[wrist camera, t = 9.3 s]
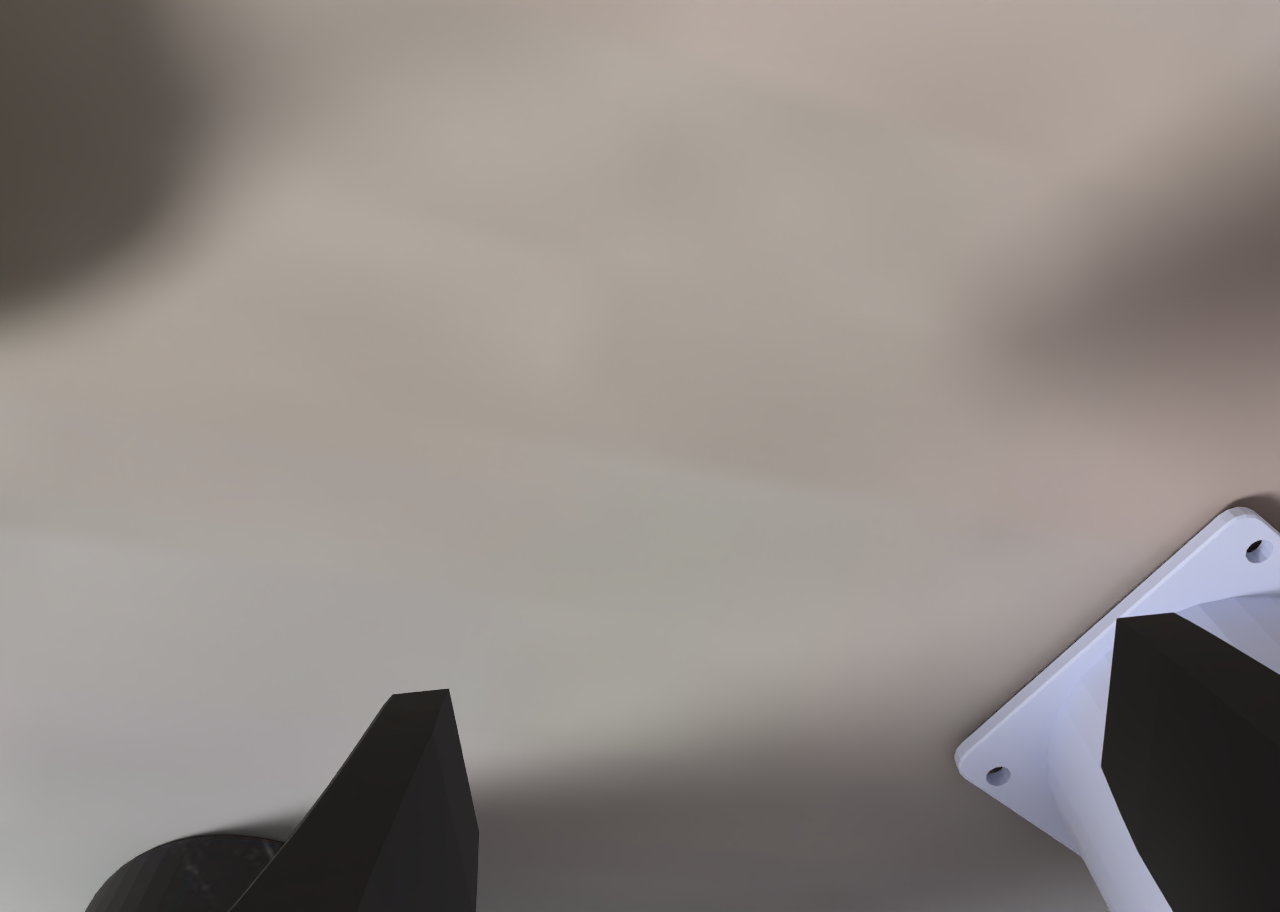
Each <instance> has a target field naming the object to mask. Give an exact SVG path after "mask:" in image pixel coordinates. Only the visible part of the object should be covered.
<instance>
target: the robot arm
mask: <svg viewBox="0 0 1280 912" xmlns="http://www.w3.org/2000/svg"><path fill="white" fill-rule="evenodd" d="M1258 540H1262V542H1261V544H1260V545H1259V547H1258V548H1257V549H1255V550H1254V551H1252V552H1248V553H1246V551H1247V549H1248V548H1249V546H1250V545H1251V544H1252V543H1254V542H1256V541H1258ZM954 758H955V763H956V765H957V768H958V770H959V772H960V774H961V775H962V776H963V777H964V778H965V779H966V780H968V781H969V782H971V783H972V784H974V785H975V786H977V787H978V788H980V789H981V790H983V791H984V792H986V793H987V794H989V795H990V796H992V797H993V798H995V799H996V800H998V801H999V802H1001V803H1002V804H1004V805H1005V806H1006V807H1008V808H1009V809H1011V810H1012V811H1014V812H1015V813H1017V814H1018V815H1020V816H1021V817H1023V818H1024V819H1026V820H1027V821H1029V822H1030V823H1032V824H1033V825H1035V826H1036V827H1038V828H1039V829H1041V830H1042V831H1044V832H1045V833H1047V834H1048V835H1050V836H1051V837H1053V838H1054V839H1056V840H1057V841H1059V842H1060V843H1062V844H1063V845H1065V846H1066V847H1068V848H1069V849H1071V850H1072V851H1074V852H1075V853H1077V854H1078V855H1080V856H1081V857H1082V858H1083V860H1084V862H1085V864H1086V866H1087V868H1088V870H1089V872H1090V874H1091V876H1092V877H1093V879H1094V881H1095V883H1096V885H1097V887H1098V889H1099V891H1100V893H1101V895H1102V897H1103V899H1104V900H1105V902H1106V904H1107V906H1108V908H1109V910H1110V912H1280V533H1279V532H1278V531H1277V530H1276V529H1274V528H1273V527H1272V526H1271V525H1270V524H1269V523H1268V522H1266V521H1265V520H1264V519H1263V518H1262V517H1261V516H1259V515H1258V514H1257V513H1256V512H1255V511H1253V510H1251V509H1249V508H1247V507H1235V508H1231V509H1228V510H1226V511H1225V512H1223V513H1221V514H1220V515H1218V516H1217V517H1216V518H1215V519H1214V520H1213V521H1212V522H1210V523H1209V524H1208V525H1207V526H1206V527H1205V528H1204V529H1203V530H1201V531H1200V532H1199V533H1198V534H1197V535H1196V536H1195V537H1194V538H1192V539H1191V540H1190V541H1189V542H1188V543H1187V544H1186V545H1185V546H1183V547H1182V548H1181V549H1180V550H1179V551H1178V552H1177V553H1175V554H1174V555H1173V556H1172V557H1171V558H1170V559H1169V560H1168V561H1166V562H1165V563H1164V564H1163V565H1162V566H1161V567H1160V568H1159V569H1157V570H1156V571H1155V572H1154V573H1153V574H1152V575H1151V576H1150V577H1148V578H1147V579H1146V580H1145V581H1144V582H1143V583H1142V584H1141V585H1139V586H1138V587H1137V588H1136V589H1135V590H1134V591H1133V592H1131V593H1130V594H1129V595H1128V596H1127V597H1126V598H1125V599H1124V600H1122V601H1121V602H1120V603H1119V604H1118V605H1117V606H1116V607H1115V608H1113V609H1112V610H1111V611H1110V612H1109V613H1108V614H1107V615H1106V616H1104V617H1103V618H1102V619H1101V620H1100V621H1099V622H1098V623H1097V624H1095V625H1094V626H1093V627H1092V628H1091V629H1090V630H1089V631H1088V632H1086V633H1085V634H1084V635H1083V636H1082V637H1081V638H1080V639H1078V640H1077V641H1076V642H1075V643H1074V644H1073V645H1072V646H1071V647H1069V648H1068V649H1067V650H1066V651H1065V652H1064V653H1063V654H1062V655H1060V656H1059V657H1058V658H1057V659H1056V660H1055V661H1054V662H1053V663H1051V664H1050V665H1049V666H1048V667H1047V668H1046V669H1045V670H1044V671H1042V672H1041V673H1040V674H1039V675H1038V676H1037V677H1036V678H1034V679H1033V680H1032V681H1031V682H1030V683H1029V684H1028V685H1027V686H1025V687H1024V688H1023V689H1022V690H1021V691H1020V692H1019V693H1018V694H1016V695H1015V696H1014V697H1013V698H1012V699H1011V700H1010V701H1009V702H1007V703H1006V704H1005V705H1004V706H1003V707H1002V708H1001V709H1000V710H998V711H997V712H996V713H995V714H994V715H993V716H992V717H991V718H989V719H988V720H987V721H986V722H985V723H984V724H983V725H981V726H980V727H979V728H978V729H977V730H976V731H975V732H974V733H972V734H971V735H970V736H969V737H968V738H967V739H966V740H965V741H963V742H962V743H961V744H960V746H959V747H958V748H957V749H956V752H955V756H954ZM995 767H1002V769H1001V770H999V771H997V772H996V773H988V772H989V771H990V770H992V769H994V768H995ZM478 844H479V830H478V825H477V821H476V816H475V811H474V806H473V802H472V797H471V792H470V787H469V783H468V778H467V773H466V768H465V763H464V759H463V754H462V749H461V744H460V740H459V735H458V730H457V725H456V721H455V716H454V711H453V706H452V701H451V697H450V692H449V689H441V690H431V691H422V692H412V693H403V694H393V695H392V696H391V697H390V698H389V699H388V701H387V702H386V703H385V704H384V705H383V707H382V708H381V710H380V711H379V713H378V714H377V715H376V717H375V718H374V720H373V721H372V723H371V724H370V726H369V727H368V729H367V730H366V732H365V733H364V735H363V736H362V738H361V739H360V741H359V742H358V743H357V745H356V746H355V748H354V749H353V751H352V752H351V754H350V755H349V757H348V758H347V759H346V761H345V762H344V764H343V765H342V767H341V768H340V769H339V771H338V772H337V774H336V775H335V776H334V778H333V779H332V781H331V782H330V784H329V785H328V786H327V788H326V789H325V790H324V792H323V793H322V794H321V796H320V797H319V798H318V800H317V801H316V803H315V804H314V805H313V807H312V808H311V809H310V811H309V812H308V813H307V815H306V816H305V817H304V819H303V820H302V821H301V823H300V824H299V825H298V827H297V828H296V829H295V831H294V832H293V833H292V835H291V836H290V837H289V839H288V840H287V841H286V842H285V844H284V845H283V846H282V847H281V849H280V850H279V851H278V852H277V854H276V855H275V856H274V857H273V858H272V860H271V861H270V862H269V863H268V865H267V866H266V867H265V868H264V869H263V871H262V872H261V873H260V874H259V875H258V877H257V878H256V879H255V880H254V881H253V883H252V884H251V885H250V886H249V887H248V889H247V890H246V891H245V892H244V894H243V895H242V896H241V897H240V898H239V900H238V901H237V902H236V903H235V904H234V905H233V907H232V908H231V909H230V910H229V911H228V912H476V895H477V872H478Z"/></svg>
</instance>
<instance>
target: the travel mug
mask: <svg viewBox="0 0 1280 912" xmlns="http://www.w3.org/2000/svg"><path fill="white" fill-rule="evenodd" d="M283 845H284V843H280V842H277V841H272V840H266V839H261V838H255V837H244V836H206V837H197V838H190V839H185V840H181V841H176V842H172V843H169V844H166V845H163V846H160V847H157V848H154V849H152V850H150V851H148V852H146V853H144V854H141V855H139V856H137V857H136V858H134V859H133V860H131V861H130V862H128V863H127V864H125V865H123V866H122V867H121V868H120V869H119V870H118V871H116V872H115V873H114V874H113V875H112V876H111V877H110V878H109V879H108V880H107V881H106V882H105V883H104V884H103V886H102V887H101V888H100V889H99V891H98V892H97V893H96V894H95V896H94V898H93V899H92V901H91V902H90V904H89V906H88V907H87V909H86V911H85V912H228V911H229V910H230V909H231V908H232V907H233V905H234V904H235V903H236V902H237V901H238V900H239V898H240V897H241V896H242V895H243V894H244V892H245V891H246V890H247V889H248V887H249V886H250V885H251V884H252V883H253V881H254V880H255V879H256V878H257V877H258V875H259V874H260V873H261V872H262V871H263V869H264V868H265V867H266V866H267V865H268V863H269V862H270V861H271V860H272V858H273V857H274V856H275V855H276V854H277V852H278V851H279V850H280V849H281V847H282V846H283Z"/></svg>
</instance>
